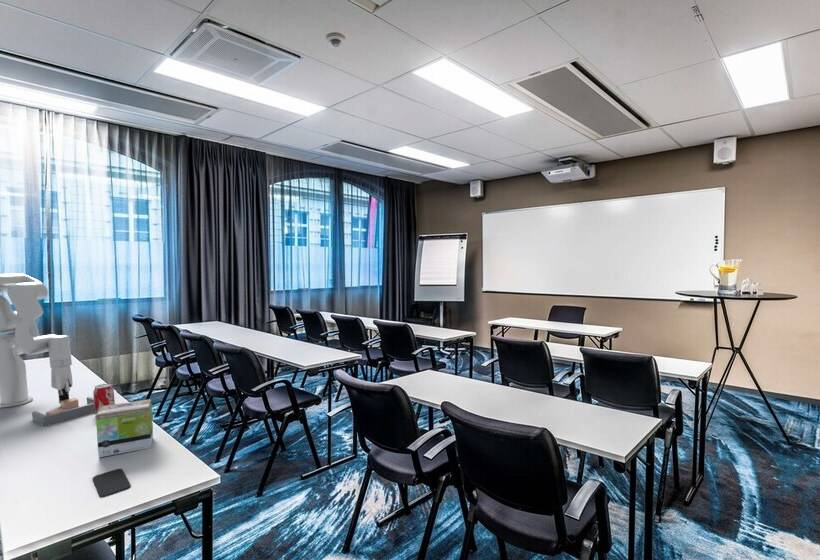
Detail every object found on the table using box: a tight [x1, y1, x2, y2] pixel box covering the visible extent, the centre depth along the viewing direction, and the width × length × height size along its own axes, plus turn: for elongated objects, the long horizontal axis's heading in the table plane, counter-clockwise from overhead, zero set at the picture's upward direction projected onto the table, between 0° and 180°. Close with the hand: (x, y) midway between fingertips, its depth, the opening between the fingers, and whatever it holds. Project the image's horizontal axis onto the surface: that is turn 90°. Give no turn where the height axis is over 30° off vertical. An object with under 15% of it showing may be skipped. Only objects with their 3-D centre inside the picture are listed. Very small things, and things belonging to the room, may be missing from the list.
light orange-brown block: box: [45, 407, 67, 416], centre depth 177 cm, size 5×5×3 cm
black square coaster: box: [92, 468, 132, 498], centre depth 123 cm, size 7×1×15 cm
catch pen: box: [31, 396, 95, 427], centre depth 180 cm, size 13×20×4 cm, turn 148°
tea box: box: [95, 398, 154, 459], centre depth 146 cm, size 15×10×15 cm, turn 117°
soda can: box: [92, 383, 116, 415], centre depth 179 cm, size 7×7×12 cm
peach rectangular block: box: [60, 397, 79, 410], centre depth 190 cm, size 5×5×3 cm
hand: (64, 402), depth 192 cm, fingers closed
